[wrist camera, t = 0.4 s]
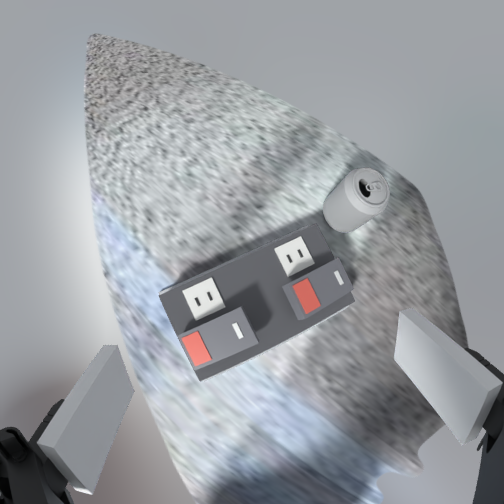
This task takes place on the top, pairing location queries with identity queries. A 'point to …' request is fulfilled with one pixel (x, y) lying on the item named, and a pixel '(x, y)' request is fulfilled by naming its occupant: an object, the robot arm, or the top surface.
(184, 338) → the block
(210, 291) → the power strip
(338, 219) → the can
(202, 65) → the top surface
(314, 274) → the rocker
